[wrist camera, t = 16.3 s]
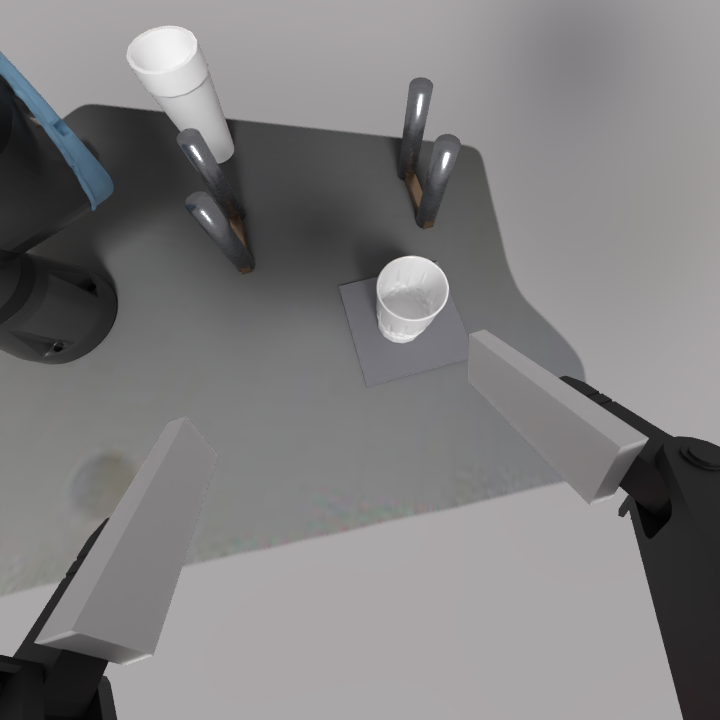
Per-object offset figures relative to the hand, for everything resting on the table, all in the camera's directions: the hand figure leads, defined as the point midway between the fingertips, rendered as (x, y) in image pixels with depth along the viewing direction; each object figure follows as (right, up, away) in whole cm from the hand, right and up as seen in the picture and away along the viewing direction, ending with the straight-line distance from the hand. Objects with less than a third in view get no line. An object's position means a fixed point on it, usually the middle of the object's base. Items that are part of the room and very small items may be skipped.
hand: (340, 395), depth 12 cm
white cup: (+7, +7, +26) cm, 28 cm away
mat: (+7, +7, +26) cm, 28 cm away
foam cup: (-25, +40, +35) cm, 58 cm away
